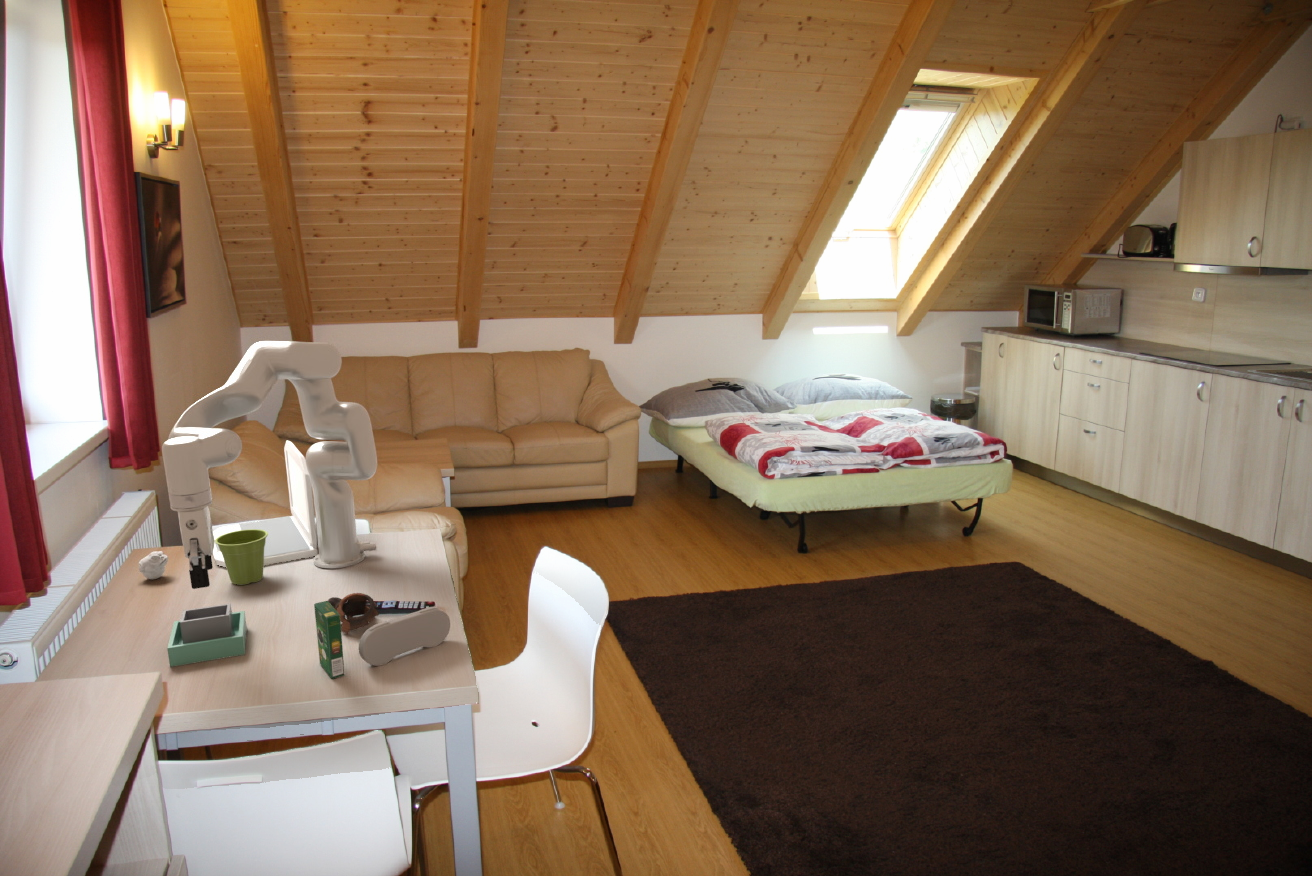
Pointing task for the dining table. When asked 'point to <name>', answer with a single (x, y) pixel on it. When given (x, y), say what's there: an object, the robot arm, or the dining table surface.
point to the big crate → (207, 644)
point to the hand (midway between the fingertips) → (202, 578)
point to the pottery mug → (354, 610)
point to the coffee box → (329, 639)
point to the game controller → (403, 635)
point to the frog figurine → (153, 565)
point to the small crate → (207, 623)
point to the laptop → (285, 518)
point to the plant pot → (243, 554)
